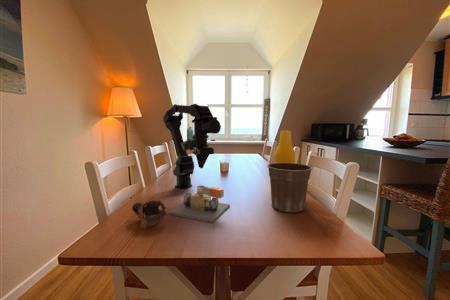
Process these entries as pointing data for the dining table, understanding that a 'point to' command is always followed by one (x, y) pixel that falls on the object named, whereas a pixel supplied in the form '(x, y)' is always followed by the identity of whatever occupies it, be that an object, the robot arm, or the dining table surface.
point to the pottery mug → (149, 212)
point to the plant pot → (289, 186)
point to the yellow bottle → (284, 149)
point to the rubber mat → (200, 212)
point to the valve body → (200, 202)
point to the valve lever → (210, 191)
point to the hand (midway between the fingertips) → (200, 167)
